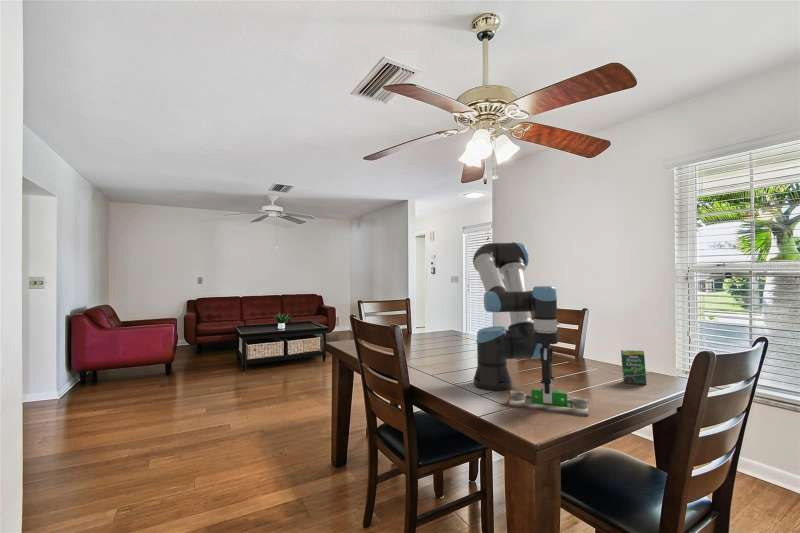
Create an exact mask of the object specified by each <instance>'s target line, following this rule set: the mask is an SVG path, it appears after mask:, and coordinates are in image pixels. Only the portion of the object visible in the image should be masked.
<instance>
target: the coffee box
mask: <svg viewBox="0 0 800 533" xmlns="http://www.w3.org/2000/svg"><path fill="white" fill-rule="evenodd" d="M620 353H621V354H620V355H621V356H620V357H621V369H622V372H621V373H622V381H623V383H624V384H634V385H647V374H646V372H647V371H646V361H645V351H644V350H631V349H630V350H627V349H622V350H620Z"/></svg>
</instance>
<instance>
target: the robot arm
mask: <svg viewBox="0 0 800 533" xmlns="http://www.w3.org/2000/svg"><path fill="white" fill-rule="evenodd" d="M472 262H473V263H472V264H473V268H474V269H475V271H477V272H478V274H479V277H480V280H481V281H482V285H483V288H484V290H485V292H484V295H483V305H484V310H485V311H486V312H488V313H509V318H510V324H509V325H508V328H506V327H505V326H500V325H498V326H488V327H484V328H479V330H478V331H477V333H476V352H477V355H476V356H477V358H476V359H477V360H476V361H477V366H476V369H475V374H474V376H473V385H474V386H475V387H476V388H478V389H482V390H486V391H505V390H509V389H512V386H513V381H512V377H511V375H510V372H509V369H508V364H507V363H508V360H532V359H535V360H536V359H540V363H541V380H540V384H542V388H543V403H550V404H552V391H554V390H553V380H555V376H553V368H552V362H553V353H554V348H552V347H551V345H557V344H558V343H559V334H558V332H557V331H558V326H559V325H560V322H559V321H558V306H557V305H558V303H557V302H558V301H557V300H558V299H557V298H558V295H557V289H556V287H555V286H550V285H549V286H548V285H546V286H545V285H542V286H541V285H540V286H538V285H537V286H536V285H535V286H534V287H533V288H532V290H527V286H526V281H525V274H524V272H525V270H526V268H527V267H528V265H529V252H528V249H527V247H526V246H525V244H524V243H522V242H513V241H512V242H494V243H493V242H489V243H485V244H483V245H482V246H479V248H477V250H476V251H475V253H474V255H473V258H472ZM500 274H501V275H502V276H503V280H504V281H503V280H502V277H501V276H500ZM532 312H533V318H532Z"/></svg>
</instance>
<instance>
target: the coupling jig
mask: <svg viewBox="0 0 800 533" xmlns="http://www.w3.org/2000/svg"><path fill="white" fill-rule="evenodd" d="M509 394H510V396H509V397H510V399H509V402H508V403H509V404H508V406H510V407H514V408H515V407H517V408H524V409H532V410H537V411H538V410H539V411H548V412H554V413H562V414H570V415H578V416H586V417H588V416H589V407H590V405H589V404H590V402H589V400H590V399H588V398H584V397H578V396H573V397H572V398H567V399H568V408H567V407H559V406H551V405H542V404H534V403H532V396H531V394H527V393H525V392H524V391H523V390H510V391H509ZM535 398H538V397H537V396H535ZM561 401H564V399H561Z"/></svg>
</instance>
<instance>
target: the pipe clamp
mask: <svg viewBox="0 0 800 533" xmlns="http://www.w3.org/2000/svg"><path fill="white" fill-rule="evenodd" d="M530 393H531V394H530V395H531V396H532V403H534V404H542V405H551V406H559V407H567V408H568V399H569V398H568V393H567V392H559V391H558V389H555V390H553V391H552V404H550V403H543V387H542V388H541V389H540V390H538V389H531V392H530ZM535 396H537V397H538V398H535ZM561 399H564V401H561Z"/></svg>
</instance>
